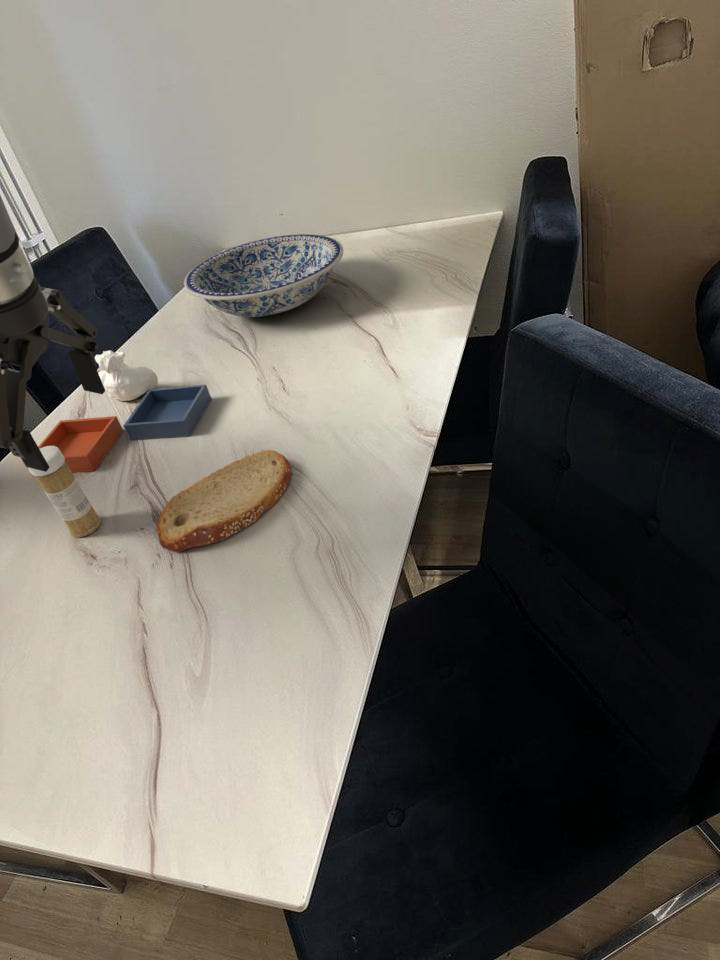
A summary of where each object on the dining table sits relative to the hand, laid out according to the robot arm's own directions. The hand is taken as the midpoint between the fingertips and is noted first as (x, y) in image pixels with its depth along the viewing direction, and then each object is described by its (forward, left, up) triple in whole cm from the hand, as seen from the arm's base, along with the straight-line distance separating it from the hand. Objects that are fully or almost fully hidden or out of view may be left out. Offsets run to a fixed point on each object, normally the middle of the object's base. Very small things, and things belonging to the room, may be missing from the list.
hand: (67, 427), depth 84 cm
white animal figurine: (-15, +36, -18) cm, 43 cm away
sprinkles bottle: (-6, 0, -17) cm, 18 cm away
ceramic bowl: (+5, +70, -17) cm, 72 cm away
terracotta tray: (-17, +19, -17) cm, 31 cm away
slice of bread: (+15, +4, -17) cm, 23 cm away
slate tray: (-3, +27, -17) cm, 32 cm away
